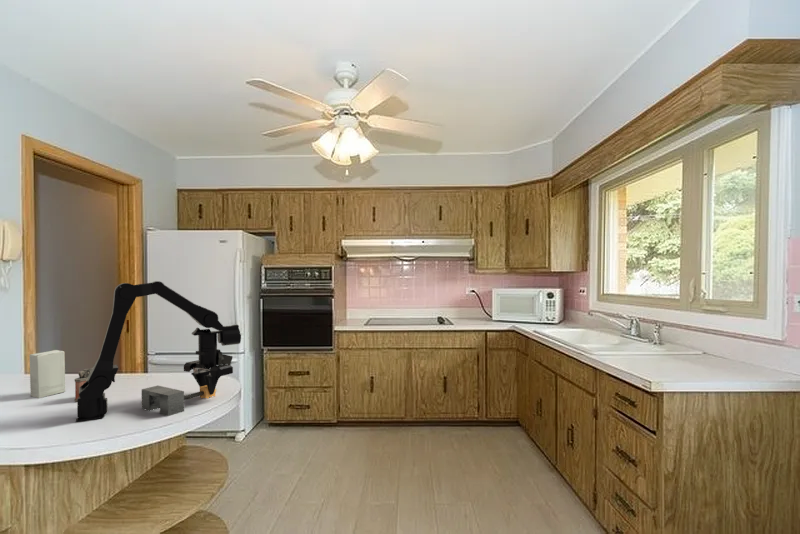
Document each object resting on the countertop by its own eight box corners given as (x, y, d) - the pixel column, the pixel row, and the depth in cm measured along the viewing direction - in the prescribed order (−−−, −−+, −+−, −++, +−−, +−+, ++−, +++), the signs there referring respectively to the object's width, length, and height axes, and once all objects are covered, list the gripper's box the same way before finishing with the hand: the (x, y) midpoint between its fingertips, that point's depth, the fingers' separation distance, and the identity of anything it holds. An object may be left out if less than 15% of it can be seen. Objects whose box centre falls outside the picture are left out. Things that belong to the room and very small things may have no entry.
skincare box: (57, 390, 153) (57, 349, 153) (66, 392, 150) (66, 350, 150) (28, 396, 145) (28, 353, 145) (37, 398, 142) (37, 354, 142)
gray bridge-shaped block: (168, 416, 123) (167, 395, 123) (141, 408, 130) (141, 389, 130) (184, 411, 127) (184, 391, 127) (157, 404, 134) (157, 385, 134)
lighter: (80, 402, 137) (80, 371, 137) (71, 402, 138) (71, 371, 138) (102, 395, 145) (102, 366, 145) (94, 395, 146) (94, 366, 146)
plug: (177, 407, 131) (177, 395, 131) (171, 405, 132) (171, 394, 132) (217, 395, 143) (217, 384, 143) (211, 394, 145) (211, 383, 145)
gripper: (246, 345, 144) (246, 391, 144) (211, 341, 154) (211, 384, 153) (217, 351, 135) (217, 400, 134) (182, 346, 144) (182, 392, 144)
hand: (208, 393), depth 142 cm, fingers closed on plug, 3 cm apart
